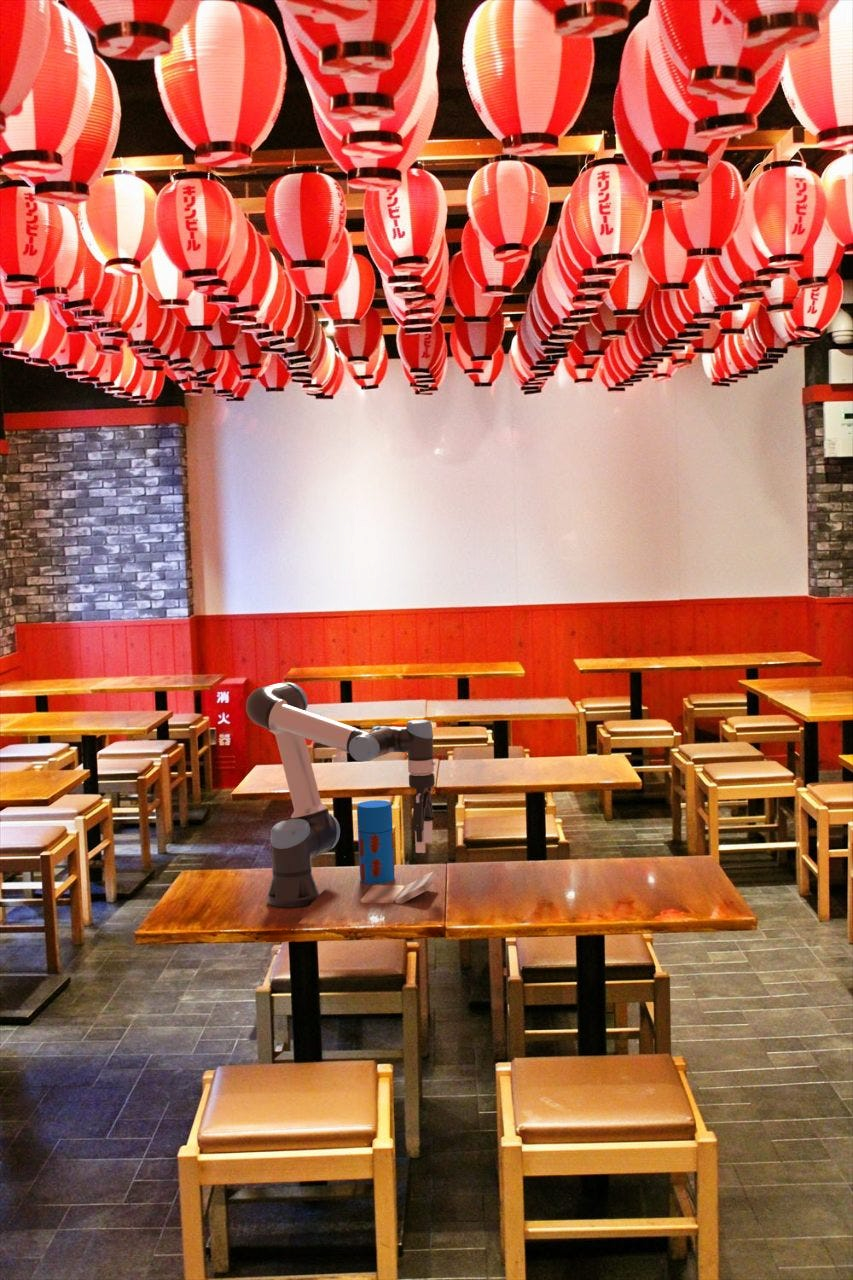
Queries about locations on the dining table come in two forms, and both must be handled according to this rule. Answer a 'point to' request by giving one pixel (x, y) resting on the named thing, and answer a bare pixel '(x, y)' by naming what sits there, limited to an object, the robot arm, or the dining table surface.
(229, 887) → the dining table surface
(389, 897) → the floor board
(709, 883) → the dining table surface
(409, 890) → the plank
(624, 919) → the dining table surface
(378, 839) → the thermos
